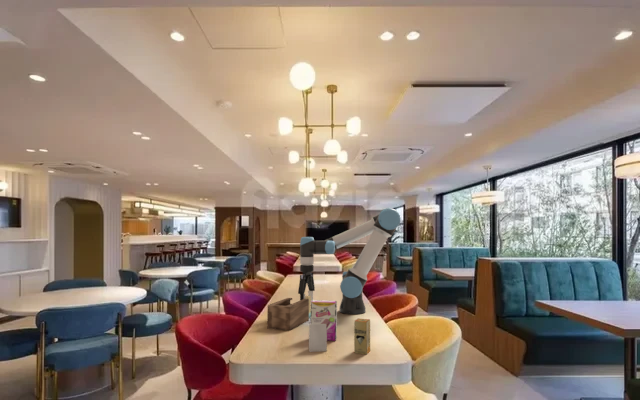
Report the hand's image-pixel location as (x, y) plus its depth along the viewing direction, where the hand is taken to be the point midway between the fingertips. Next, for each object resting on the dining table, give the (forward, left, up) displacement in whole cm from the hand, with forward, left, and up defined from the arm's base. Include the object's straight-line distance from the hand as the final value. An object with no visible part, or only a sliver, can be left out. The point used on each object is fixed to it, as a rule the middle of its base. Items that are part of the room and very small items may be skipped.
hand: (306, 304), depth 220 cm
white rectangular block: (-29, +58, -6) cm, 65 cm away
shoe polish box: (-46, +54, -6) cm, 71 cm away
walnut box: (0, +23, -6) cm, 24 cm away
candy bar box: (-26, +43, -6) cm, 51 cm away
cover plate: (0, 0, -6) cm, 6 cm away
